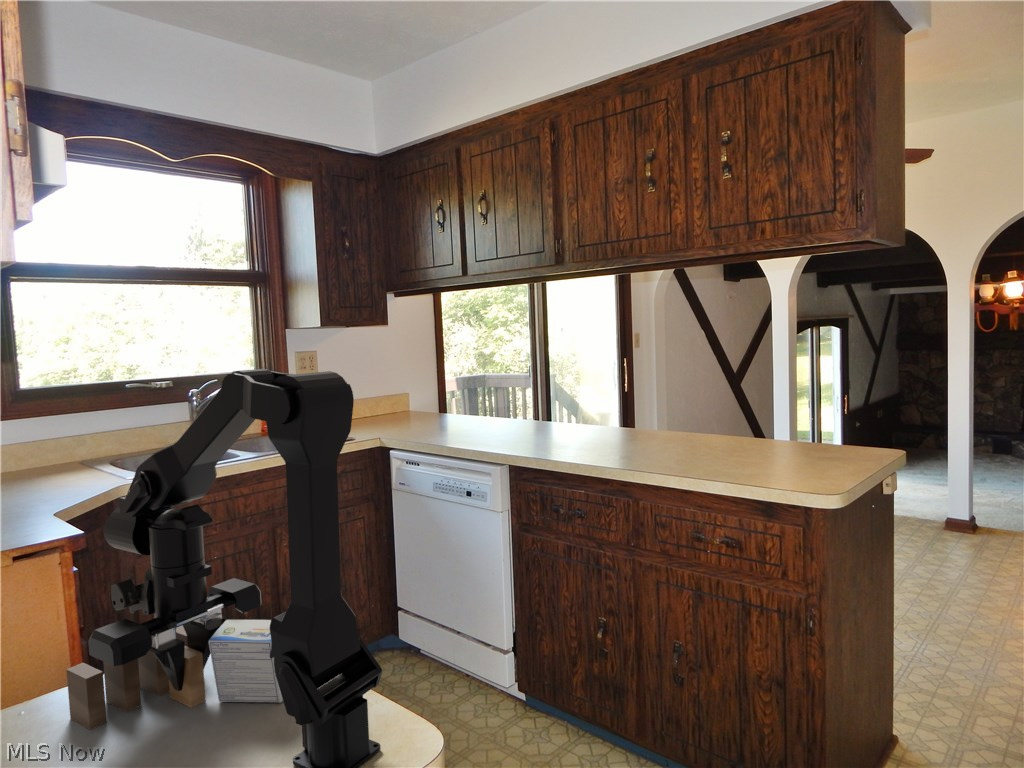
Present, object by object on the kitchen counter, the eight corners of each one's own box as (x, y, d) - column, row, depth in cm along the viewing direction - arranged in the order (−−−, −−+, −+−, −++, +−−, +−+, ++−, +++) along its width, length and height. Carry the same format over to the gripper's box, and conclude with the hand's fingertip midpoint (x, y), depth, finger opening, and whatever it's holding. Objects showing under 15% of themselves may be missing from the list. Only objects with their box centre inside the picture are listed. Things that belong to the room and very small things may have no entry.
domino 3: (153, 680, 86) (150, 635, 85) (173, 689, 83) (170, 643, 83) (139, 687, 84) (136, 641, 84) (159, 696, 82) (155, 649, 81)
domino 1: (87, 711, 79) (83, 662, 79) (106, 721, 77) (102, 671, 76) (70, 719, 77) (66, 669, 77) (90, 730, 75) (85, 678, 75)
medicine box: (296, 679, 83) (287, 618, 81) (281, 705, 79) (272, 640, 77) (235, 678, 84) (225, 617, 82) (217, 703, 80) (206, 639, 78)
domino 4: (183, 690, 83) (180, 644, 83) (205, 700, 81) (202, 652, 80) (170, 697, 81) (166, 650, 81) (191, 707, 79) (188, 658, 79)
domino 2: (121, 695, 82) (118, 648, 82) (141, 705, 80) (137, 656, 80) (106, 702, 81) (102, 654, 80) (126, 712, 79) (122, 663, 78)
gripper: (208, 530, 92) (214, 639, 93) (58, 573, 76) (69, 705, 77) (260, 542, 86) (267, 658, 87) (110, 591, 70) (121, 733, 71)
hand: (186, 685), depth 81 cm, fingers closed on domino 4, 2 cm apart
